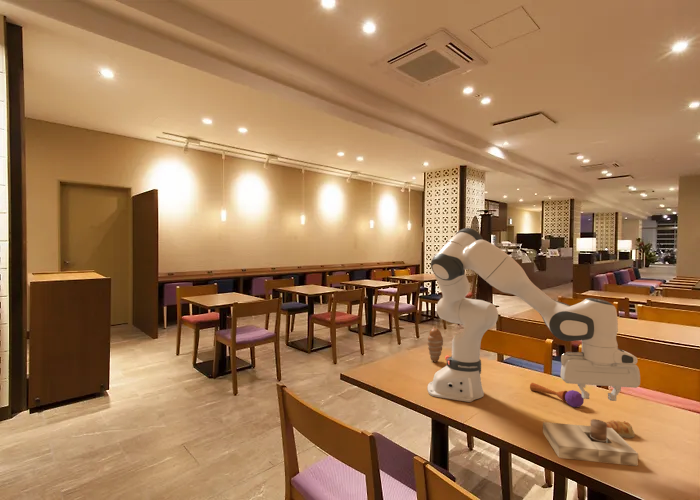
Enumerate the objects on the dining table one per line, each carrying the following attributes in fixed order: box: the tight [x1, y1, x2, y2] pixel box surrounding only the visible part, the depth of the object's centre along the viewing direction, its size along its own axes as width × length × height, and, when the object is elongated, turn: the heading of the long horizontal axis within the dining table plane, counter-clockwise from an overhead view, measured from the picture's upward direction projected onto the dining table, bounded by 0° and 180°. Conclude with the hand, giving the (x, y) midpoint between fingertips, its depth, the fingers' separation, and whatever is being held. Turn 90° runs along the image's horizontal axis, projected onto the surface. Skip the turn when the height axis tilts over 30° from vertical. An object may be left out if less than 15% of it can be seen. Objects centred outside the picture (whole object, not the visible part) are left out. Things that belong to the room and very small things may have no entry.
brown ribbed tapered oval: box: [427, 326, 444, 363], centre depth 188 cm, size 9×8×18 cm
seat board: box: [542, 421, 639, 467], centre depth 109 cm, size 20×14×4 cm
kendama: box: [529, 382, 584, 408], centre depth 143 cm, size 6×6×20 cm
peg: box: [590, 418, 607, 443], centre depth 108 cm, size 4×4×8 cm
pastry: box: [604, 419, 636, 439], centre depth 118 cm, size 9×7×4 cm
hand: (598, 399), depth 108 cm, fingers open, 6 cm apart
